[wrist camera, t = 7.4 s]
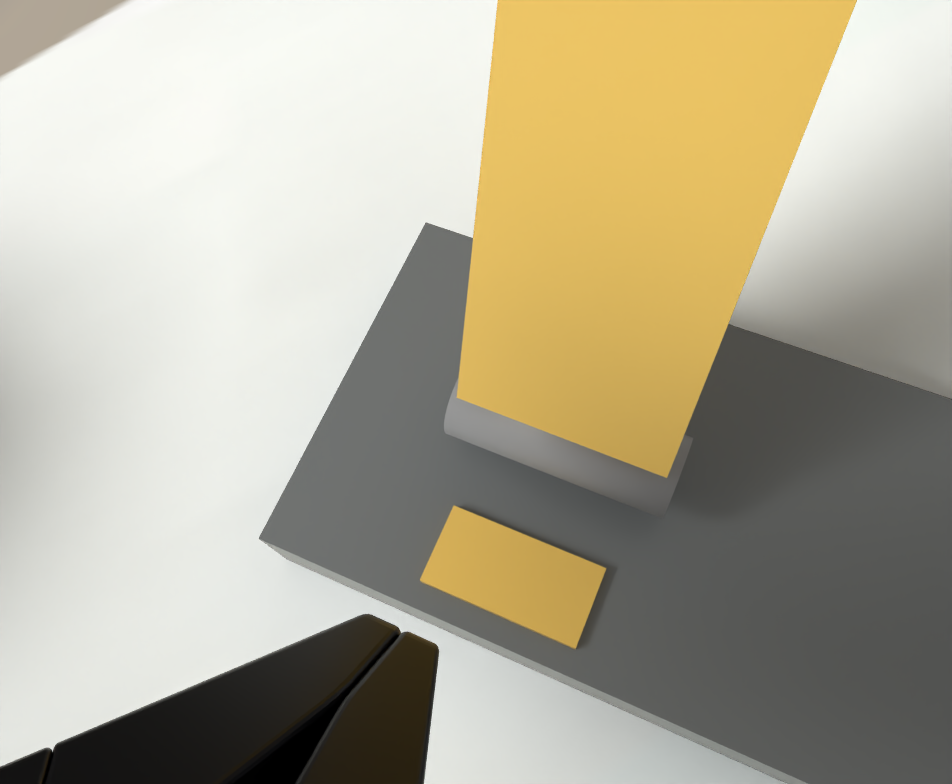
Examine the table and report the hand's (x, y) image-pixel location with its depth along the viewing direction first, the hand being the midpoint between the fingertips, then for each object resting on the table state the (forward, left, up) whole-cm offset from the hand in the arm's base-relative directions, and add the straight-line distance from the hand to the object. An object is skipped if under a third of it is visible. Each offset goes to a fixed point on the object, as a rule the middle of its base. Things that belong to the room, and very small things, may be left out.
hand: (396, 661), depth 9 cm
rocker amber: (+4, -3, -6) cm, 8 cm away
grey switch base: (+1, -7, -10) cm, 12 cm away
